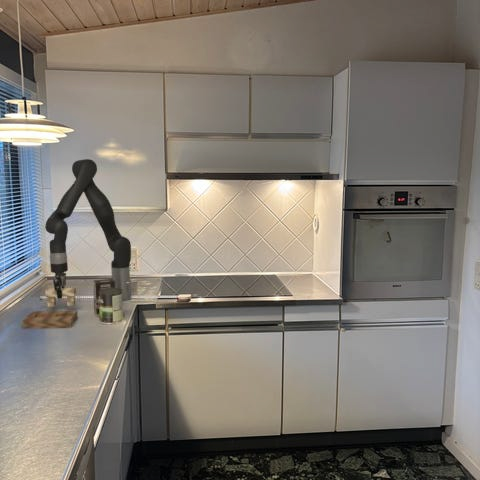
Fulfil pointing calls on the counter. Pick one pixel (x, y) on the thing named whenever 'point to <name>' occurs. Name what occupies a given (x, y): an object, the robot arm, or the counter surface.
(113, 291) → the coffee can
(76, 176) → the robot arm
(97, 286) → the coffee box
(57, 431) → the counter surface
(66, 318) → the brown slotted wooden block
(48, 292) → the beige wooden plank
